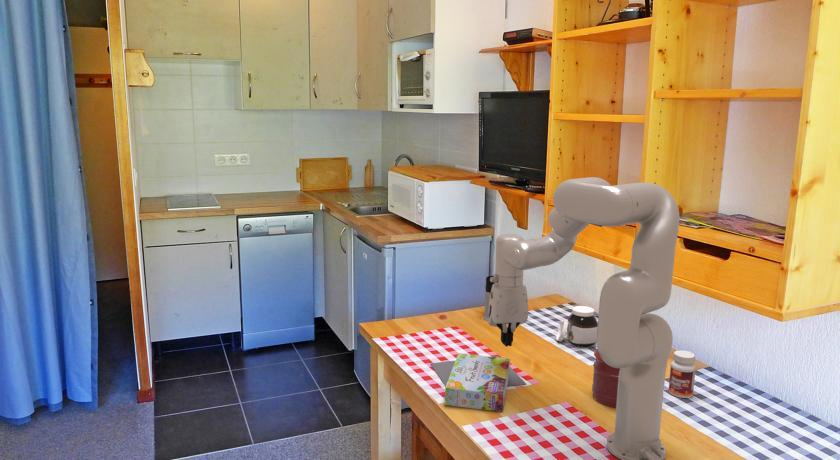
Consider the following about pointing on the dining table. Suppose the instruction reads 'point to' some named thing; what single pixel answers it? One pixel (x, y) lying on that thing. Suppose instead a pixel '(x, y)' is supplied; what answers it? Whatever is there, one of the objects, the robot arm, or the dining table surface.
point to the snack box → (478, 382)
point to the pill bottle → (682, 374)
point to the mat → (446, 367)
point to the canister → (605, 382)
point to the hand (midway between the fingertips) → (506, 344)
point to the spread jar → (579, 327)
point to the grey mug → (487, 297)
